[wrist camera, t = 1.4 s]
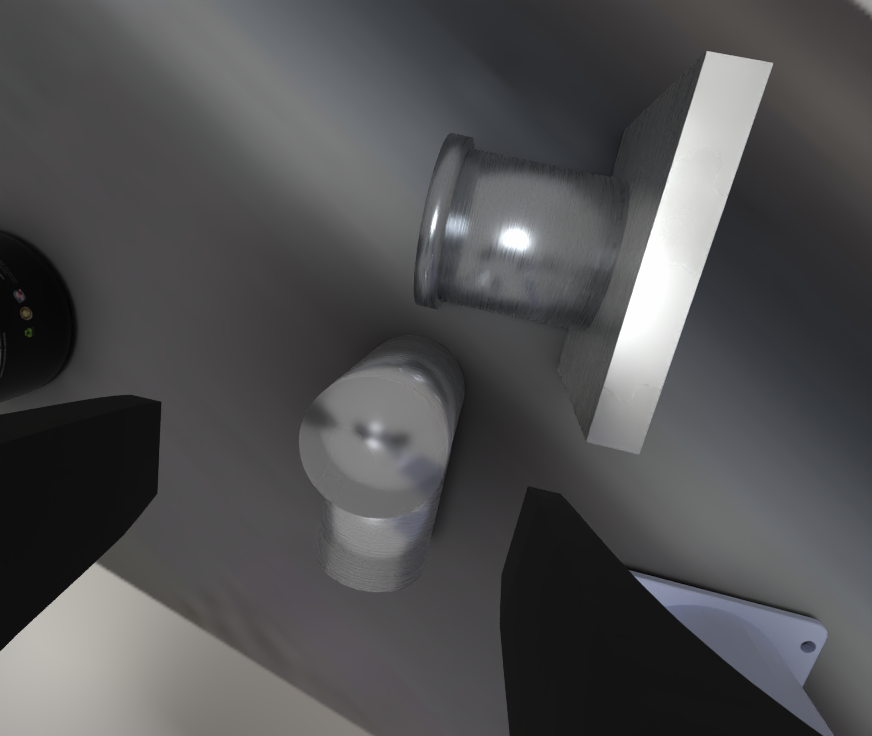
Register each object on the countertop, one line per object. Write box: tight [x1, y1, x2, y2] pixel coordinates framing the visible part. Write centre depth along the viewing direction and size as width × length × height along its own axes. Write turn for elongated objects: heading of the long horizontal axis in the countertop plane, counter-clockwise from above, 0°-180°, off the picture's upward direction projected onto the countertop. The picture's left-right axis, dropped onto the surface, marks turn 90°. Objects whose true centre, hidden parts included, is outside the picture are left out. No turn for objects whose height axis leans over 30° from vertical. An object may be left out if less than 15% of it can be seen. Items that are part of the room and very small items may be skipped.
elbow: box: [299, 335, 465, 592], centre depth 17 cm, size 8×4×6 cm, turn 168°
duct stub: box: [414, 51, 773, 455], centre depth 14 cm, size 6×8×7 cm
